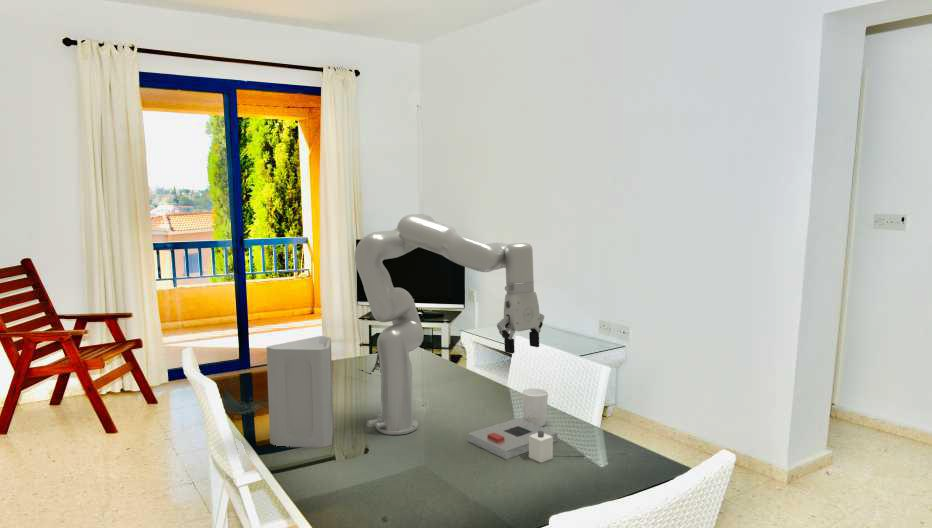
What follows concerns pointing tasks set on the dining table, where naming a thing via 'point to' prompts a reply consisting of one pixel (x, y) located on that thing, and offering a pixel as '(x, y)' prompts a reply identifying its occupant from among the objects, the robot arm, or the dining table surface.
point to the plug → (540, 447)
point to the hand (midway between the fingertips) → (522, 349)
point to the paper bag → (300, 393)
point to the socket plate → (508, 437)
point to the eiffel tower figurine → (377, 362)
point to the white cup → (535, 405)
